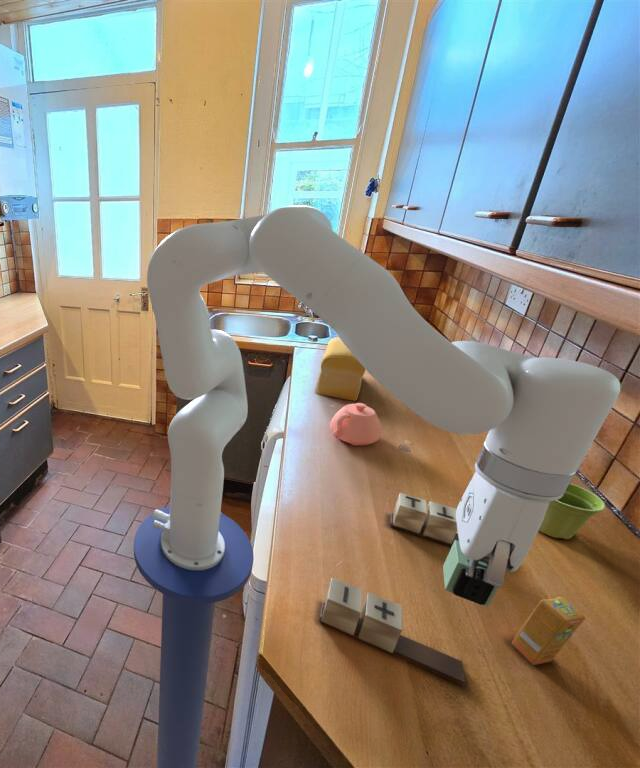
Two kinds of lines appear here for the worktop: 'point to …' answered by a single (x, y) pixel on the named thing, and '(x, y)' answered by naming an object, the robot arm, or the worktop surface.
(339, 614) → the front word
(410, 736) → the worktop surface
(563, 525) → the plant pot
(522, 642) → the supplement box
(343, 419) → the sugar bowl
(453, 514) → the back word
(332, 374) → the bread
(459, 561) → the pale green cube
